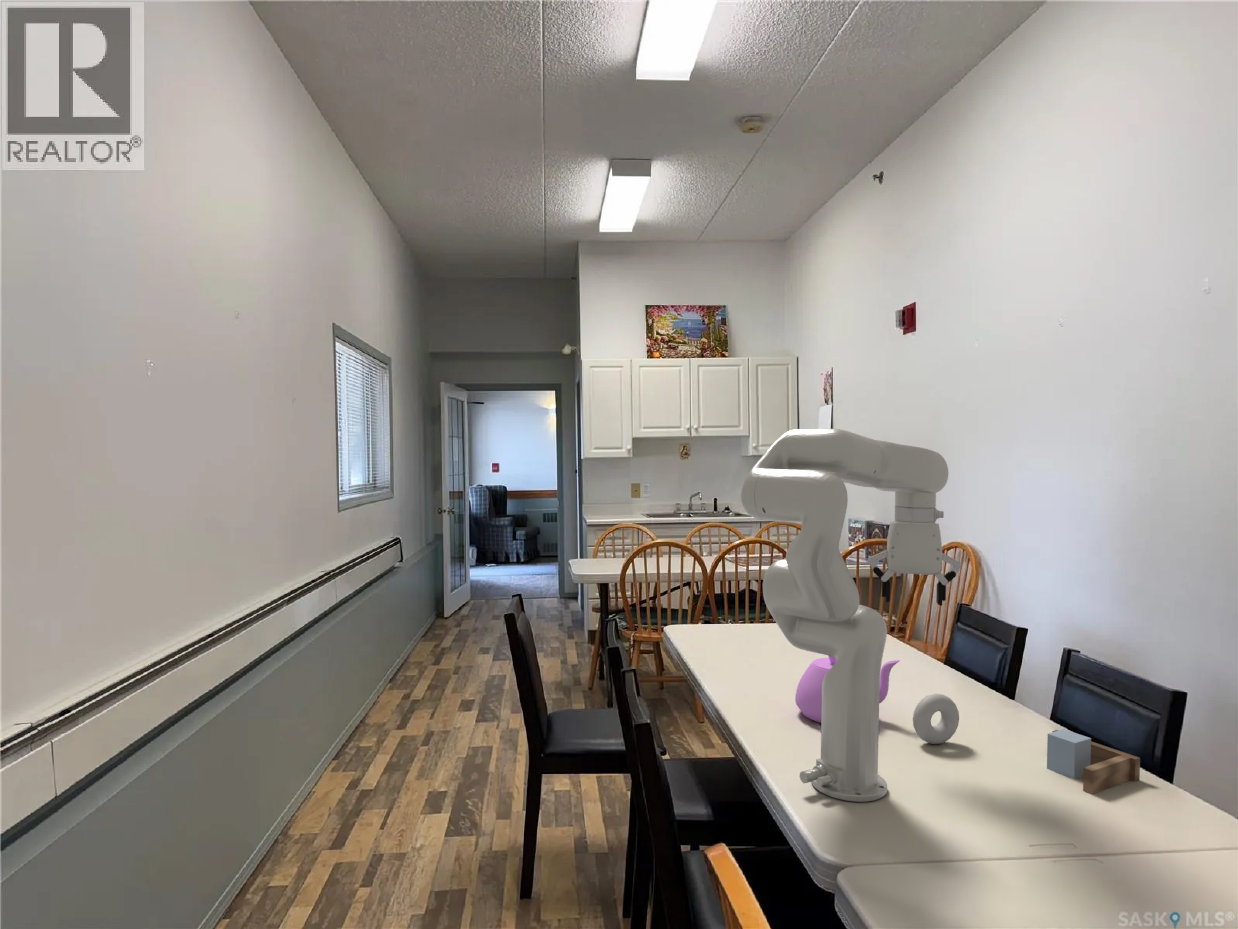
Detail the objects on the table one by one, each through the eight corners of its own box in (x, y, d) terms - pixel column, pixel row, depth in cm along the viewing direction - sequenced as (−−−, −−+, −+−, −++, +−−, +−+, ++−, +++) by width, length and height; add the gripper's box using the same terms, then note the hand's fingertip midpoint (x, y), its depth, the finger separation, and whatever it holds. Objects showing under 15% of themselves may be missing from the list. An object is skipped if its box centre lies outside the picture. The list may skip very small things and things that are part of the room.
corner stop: (1096, 796, 129) (1097, 772, 129) (1013, 763, 142) (1014, 742, 142) (1139, 780, 136) (1140, 757, 136) (1056, 750, 149) (1056, 730, 149)
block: (1074, 779, 136) (1075, 743, 136) (1046, 768, 140) (1047, 733, 140) (1090, 773, 138) (1091, 738, 138) (1062, 763, 143) (1063, 729, 142)
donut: (919, 749, 148) (920, 698, 148) (908, 742, 152) (909, 693, 151) (962, 744, 151) (963, 694, 151) (950, 738, 154) (951, 689, 154)
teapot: (907, 741, 153) (908, 672, 152) (796, 731, 157) (797, 665, 157) (890, 705, 174) (892, 645, 174) (793, 697, 178) (794, 639, 178)
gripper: (959, 516, 151) (957, 602, 151) (868, 513, 156) (866, 596, 156) (965, 519, 144) (963, 609, 144) (869, 516, 148) (867, 603, 149)
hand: (913, 602), depth 150 cm, fingers open, 9 cm apart
